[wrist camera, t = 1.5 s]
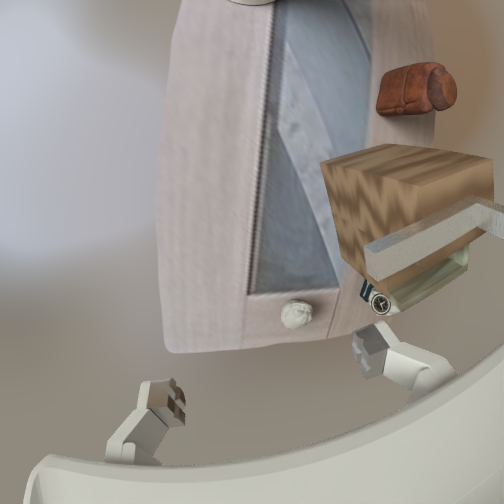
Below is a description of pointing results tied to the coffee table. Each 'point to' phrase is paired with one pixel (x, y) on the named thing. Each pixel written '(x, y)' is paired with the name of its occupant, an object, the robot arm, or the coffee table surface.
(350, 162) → the stepped shelf
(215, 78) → the coffee table surface
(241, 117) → the coffee table surface
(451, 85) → the wooden figurine
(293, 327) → the white rough round lump
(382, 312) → the watch
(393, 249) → the aluminium bracket
